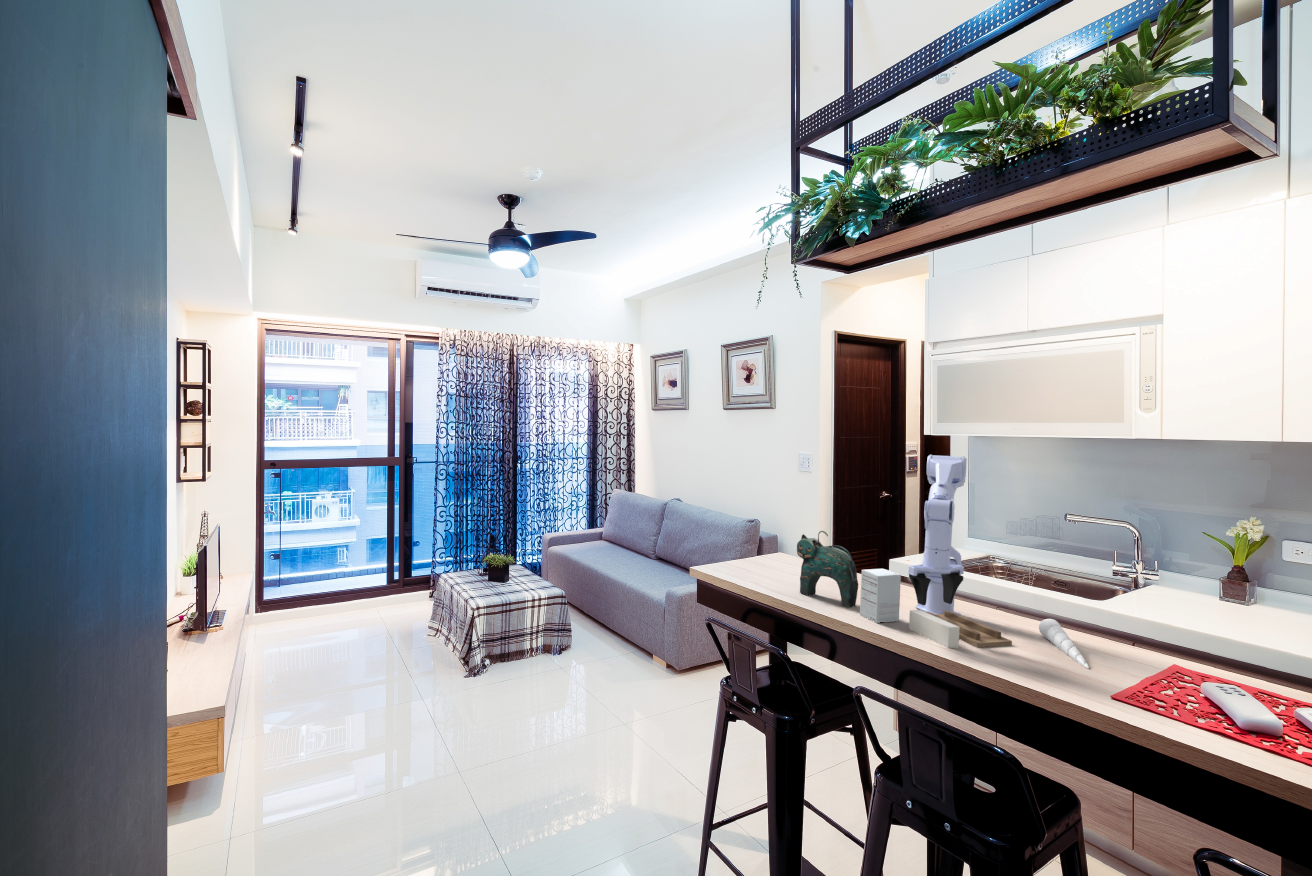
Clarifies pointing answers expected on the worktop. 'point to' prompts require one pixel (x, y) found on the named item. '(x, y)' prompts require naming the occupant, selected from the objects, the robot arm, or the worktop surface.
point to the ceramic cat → (827, 568)
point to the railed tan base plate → (974, 631)
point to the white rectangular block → (934, 628)
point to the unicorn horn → (1061, 640)
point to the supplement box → (880, 595)
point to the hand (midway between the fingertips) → (934, 603)
